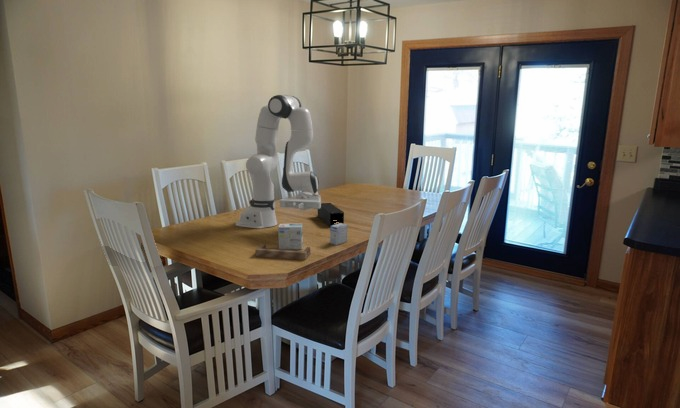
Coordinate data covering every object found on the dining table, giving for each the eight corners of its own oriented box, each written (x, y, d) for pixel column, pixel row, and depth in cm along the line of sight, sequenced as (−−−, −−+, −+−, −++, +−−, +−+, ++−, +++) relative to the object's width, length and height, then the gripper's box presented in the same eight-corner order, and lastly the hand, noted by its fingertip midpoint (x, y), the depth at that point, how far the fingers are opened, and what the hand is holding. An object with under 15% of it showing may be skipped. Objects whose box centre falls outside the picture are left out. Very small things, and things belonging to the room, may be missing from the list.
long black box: (330, 213, 234) (316, 202, 260) (330, 227, 236) (316, 215, 262) (344, 212, 237) (328, 201, 263) (344, 226, 239) (328, 214, 264)
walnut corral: (256, 256, 189) (255, 249, 188) (262, 250, 197) (262, 244, 196) (305, 259, 185) (305, 253, 184) (310, 253, 193) (310, 247, 192)
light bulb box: (302, 245, 205) (302, 222, 203) (302, 249, 198) (301, 226, 196) (279, 245, 204) (279, 222, 202) (278, 249, 198) (277, 226, 196)
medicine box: (340, 239, 214) (340, 222, 212) (347, 241, 211) (347, 224, 209) (329, 243, 208) (329, 225, 206) (337, 245, 205) (337, 227, 203)
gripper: (284, 193, 221) (274, 199, 208) (323, 195, 218) (317, 201, 204) (284, 206, 223) (275, 212, 210) (323, 207, 219) (317, 214, 206)
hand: (296, 206), depth 207 cm, fingers closed
